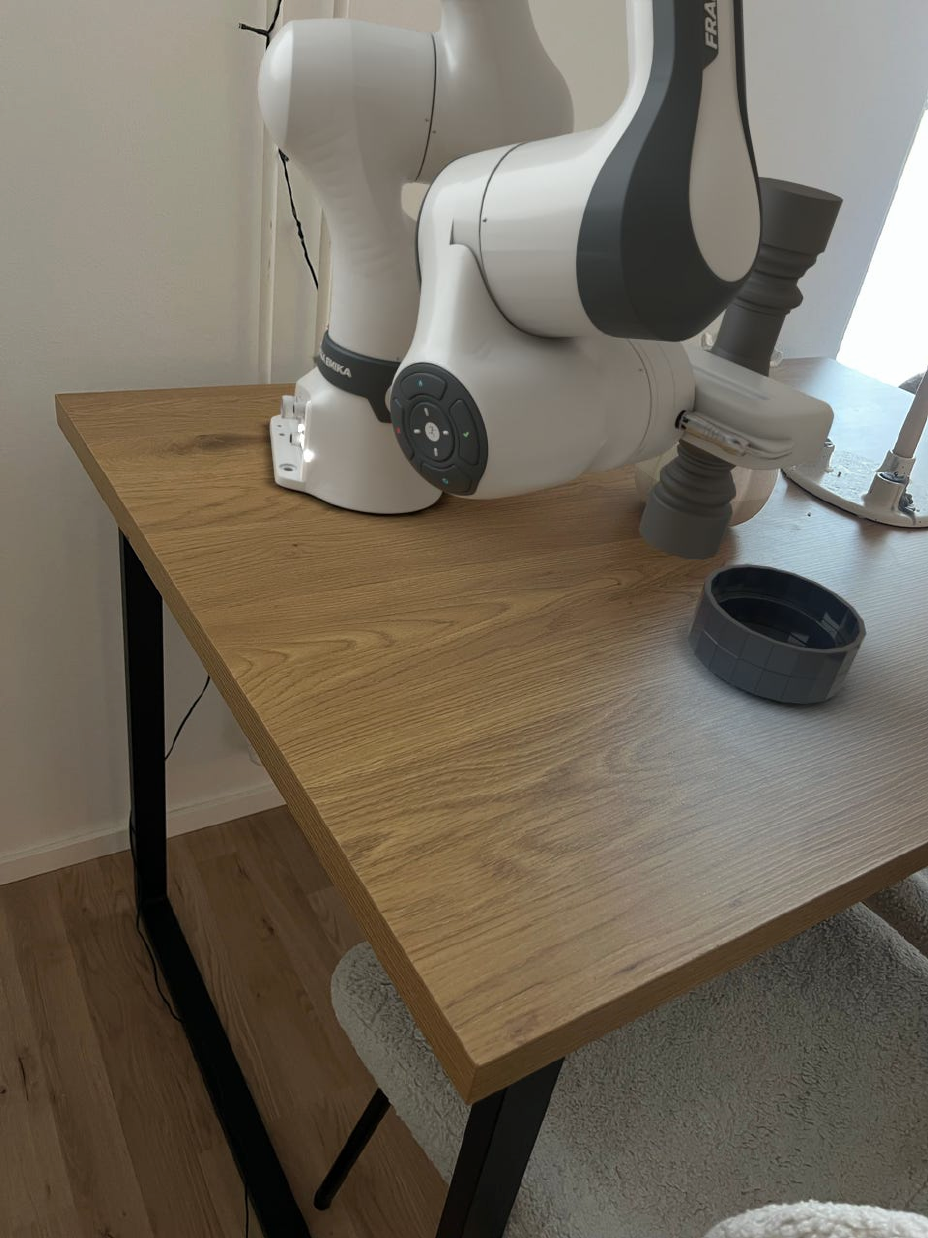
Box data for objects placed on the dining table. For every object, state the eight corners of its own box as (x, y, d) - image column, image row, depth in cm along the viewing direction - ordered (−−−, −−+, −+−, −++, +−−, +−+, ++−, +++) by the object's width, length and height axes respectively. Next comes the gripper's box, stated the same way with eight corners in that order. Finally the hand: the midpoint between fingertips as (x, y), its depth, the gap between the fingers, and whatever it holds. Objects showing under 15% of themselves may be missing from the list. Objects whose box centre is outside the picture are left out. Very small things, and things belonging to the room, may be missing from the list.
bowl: (657, 623, 86) (675, 568, 83) (775, 612, 92) (796, 560, 89) (746, 718, 77) (770, 659, 74) (873, 700, 82) (900, 644, 79)
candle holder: (735, 557, 75) (868, 206, 62) (667, 562, 72) (791, 195, 59) (688, 517, 79) (802, 181, 66) (623, 520, 77) (729, 171, 64)
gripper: (782, 408, 54) (891, 379, 63) (511, 288, 65) (637, 278, 74) (744, 512, 58) (852, 470, 67) (493, 381, 69) (615, 360, 78)
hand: (737, 368), depth 71 cm, fingers closed on candle holder
